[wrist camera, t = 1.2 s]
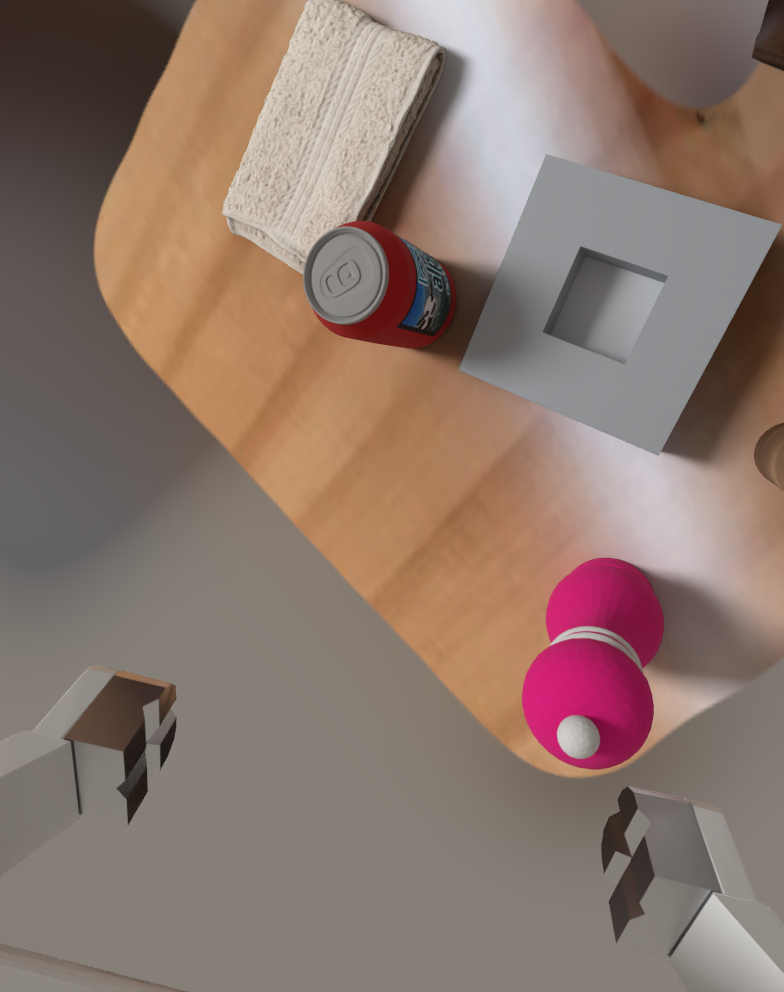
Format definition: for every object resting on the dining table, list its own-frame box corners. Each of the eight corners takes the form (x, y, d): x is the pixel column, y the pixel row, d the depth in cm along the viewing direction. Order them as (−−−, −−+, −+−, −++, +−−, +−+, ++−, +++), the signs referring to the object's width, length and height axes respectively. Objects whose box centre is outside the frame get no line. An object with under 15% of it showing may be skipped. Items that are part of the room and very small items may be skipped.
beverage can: (475, 321, 44) (417, 298, 33) (397, 365, 47) (321, 357, 36) (436, 237, 45) (366, 187, 34) (362, 286, 47) (275, 254, 36)
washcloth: (232, 230, 52) (208, 221, 49) (323, -2, 46) (301, -28, 43) (341, 297, 49) (322, 291, 46) (454, 58, 43) (440, 35, 40)
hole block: (554, 172, 41) (546, 154, 38) (770, 239, 37) (782, 224, 34) (472, 371, 45) (458, 370, 42) (658, 450, 41) (658, 455, 38)
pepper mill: (686, 612, 42) (712, 782, 24) (600, 666, 45) (564, 854, 27) (615, 530, 43) (587, 632, 25) (535, 588, 46) (458, 717, 28)
